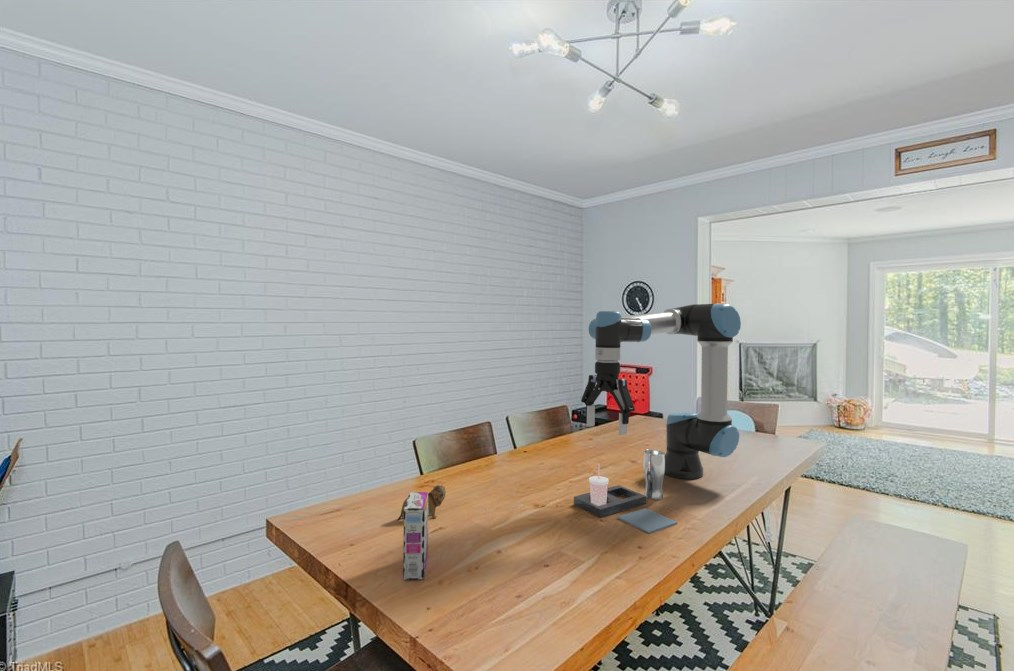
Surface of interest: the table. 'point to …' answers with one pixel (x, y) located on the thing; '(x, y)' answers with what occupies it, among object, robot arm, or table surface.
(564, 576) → the table surface
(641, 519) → the slate mat
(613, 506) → the dark grey slotted frame
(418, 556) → the candy bar box
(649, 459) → the silver metal tumbler
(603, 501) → the beverage cup
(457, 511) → the table surface
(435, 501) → the lion figurine
